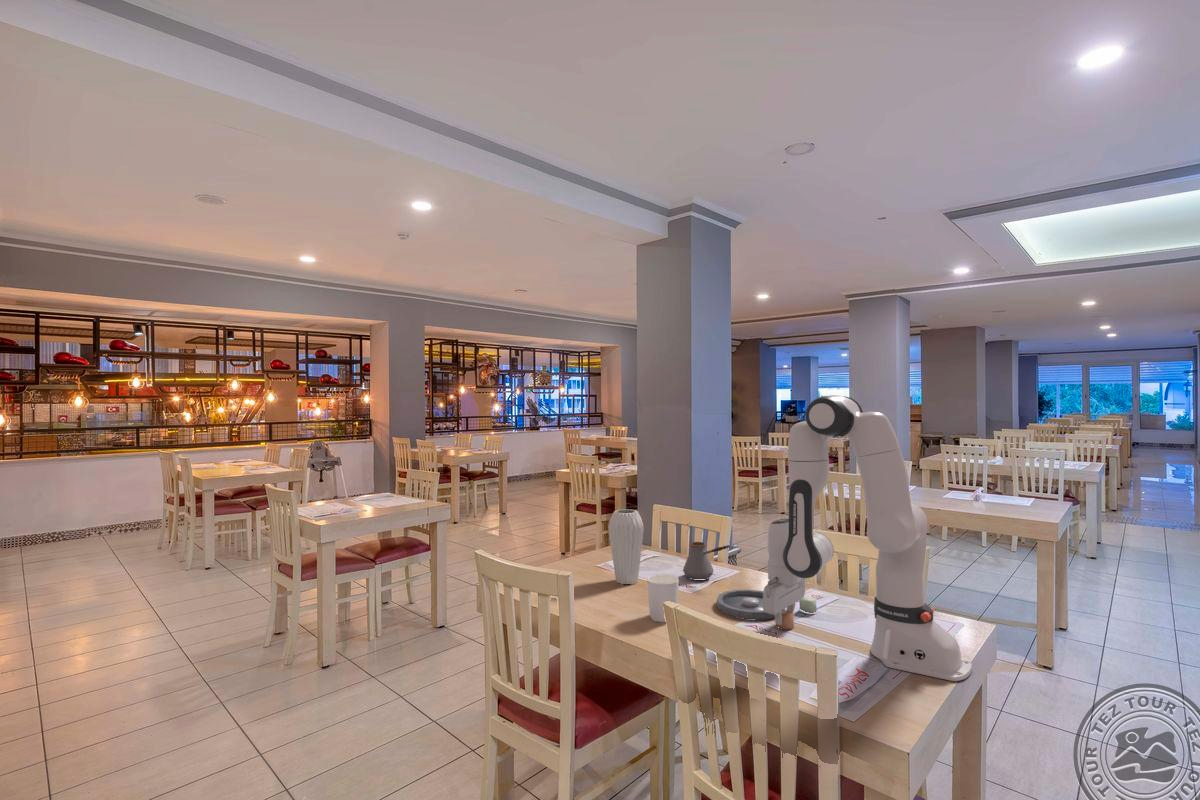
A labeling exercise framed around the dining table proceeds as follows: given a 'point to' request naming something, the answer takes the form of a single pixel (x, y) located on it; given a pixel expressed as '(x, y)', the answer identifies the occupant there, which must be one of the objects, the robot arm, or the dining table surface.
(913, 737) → the dining table surface
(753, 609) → the groove tray
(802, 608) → the sage bead
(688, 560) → the coffee pot
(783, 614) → the terracotta bead
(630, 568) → the vase
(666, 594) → the white paper cup
